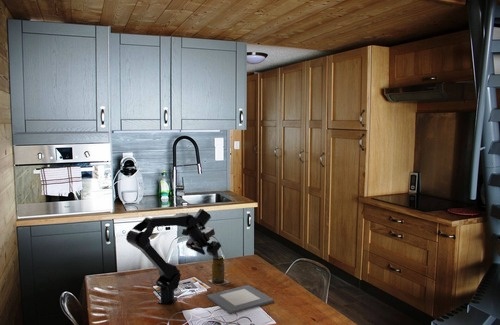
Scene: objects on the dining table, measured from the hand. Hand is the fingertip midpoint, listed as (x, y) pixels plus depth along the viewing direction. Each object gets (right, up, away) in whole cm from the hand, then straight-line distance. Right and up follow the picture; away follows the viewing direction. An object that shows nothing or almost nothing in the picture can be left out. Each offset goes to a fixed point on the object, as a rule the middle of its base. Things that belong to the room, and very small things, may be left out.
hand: (211, 256), depth 197 cm
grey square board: (+14, -15, -16) cm, 26 cm away
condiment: (+3, -14, +5) cm, 15 cm away
